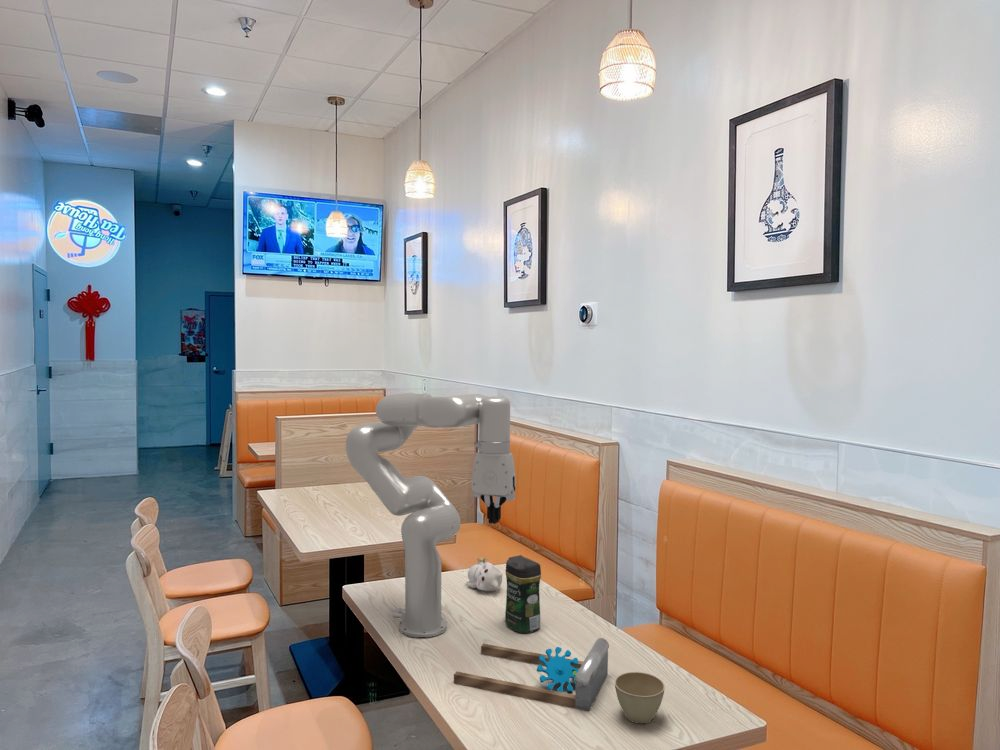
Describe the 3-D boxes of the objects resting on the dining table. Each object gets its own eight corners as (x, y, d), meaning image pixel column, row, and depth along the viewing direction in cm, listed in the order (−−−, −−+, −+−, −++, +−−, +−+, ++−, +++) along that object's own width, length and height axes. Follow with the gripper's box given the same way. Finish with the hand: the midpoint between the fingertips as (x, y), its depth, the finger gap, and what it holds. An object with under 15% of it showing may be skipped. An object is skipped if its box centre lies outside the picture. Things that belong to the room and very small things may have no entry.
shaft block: (574, 709, 146) (574, 671, 146) (594, 671, 163) (595, 637, 163) (589, 712, 145) (589, 674, 145) (608, 673, 162) (609, 639, 161)
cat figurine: (468, 552, 221) (496, 559, 209) (486, 562, 225) (515, 569, 213) (456, 582, 218) (484, 590, 206) (475, 591, 222) (504, 599, 210)
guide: (453, 683, 157) (453, 674, 157) (483, 651, 173) (483, 643, 173) (575, 708, 147) (575, 698, 147) (594, 672, 163) (594, 663, 162)
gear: (538, 689, 151) (537, 643, 158) (532, 698, 155) (532, 653, 162) (588, 694, 152) (585, 648, 159) (581, 703, 157) (578, 657, 163)
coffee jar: (500, 624, 189) (500, 556, 188) (523, 617, 194) (524, 551, 193) (521, 636, 181) (521, 566, 180) (545, 629, 186) (546, 560, 185)
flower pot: (609, 705, 148) (609, 672, 148) (655, 703, 149) (656, 670, 148) (621, 732, 138) (621, 696, 138) (670, 730, 139) (671, 694, 138)
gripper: (460, 448, 170) (459, 522, 171) (518, 452, 164) (517, 529, 165) (472, 443, 177) (472, 515, 178) (528, 447, 171) (527, 521, 172)
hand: (493, 522), depth 172 cm, fingers closed
